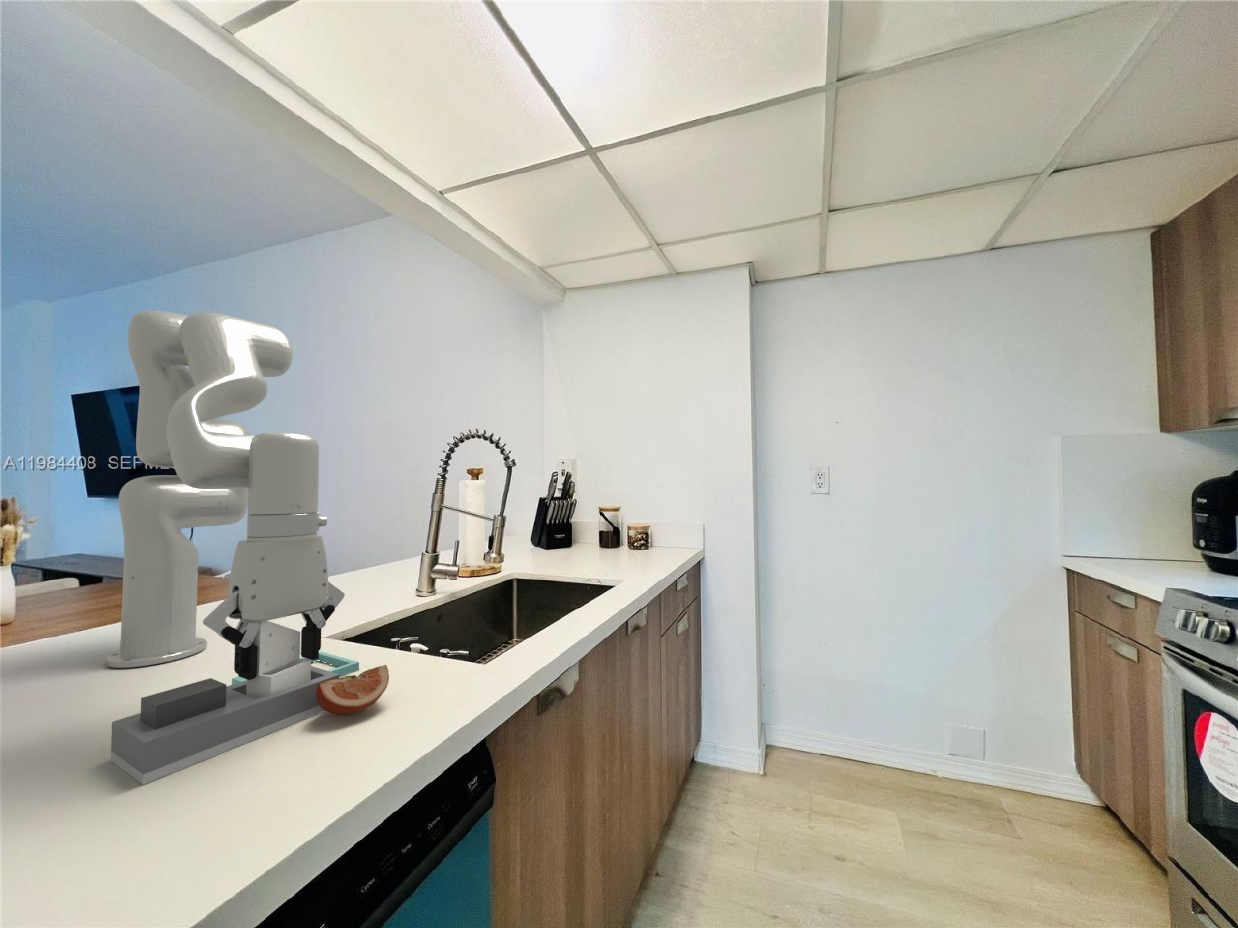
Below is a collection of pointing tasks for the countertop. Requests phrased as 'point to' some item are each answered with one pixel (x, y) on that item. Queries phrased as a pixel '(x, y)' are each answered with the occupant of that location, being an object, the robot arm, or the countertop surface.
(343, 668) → the tray frame
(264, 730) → the grey slotted holder
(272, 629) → the white angled block
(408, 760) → the countertop surface
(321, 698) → the fruit slice
